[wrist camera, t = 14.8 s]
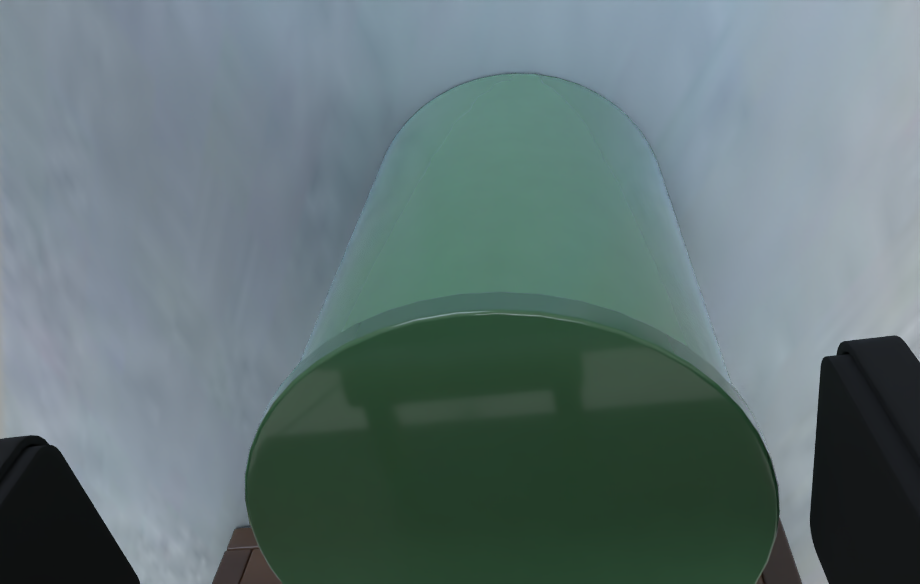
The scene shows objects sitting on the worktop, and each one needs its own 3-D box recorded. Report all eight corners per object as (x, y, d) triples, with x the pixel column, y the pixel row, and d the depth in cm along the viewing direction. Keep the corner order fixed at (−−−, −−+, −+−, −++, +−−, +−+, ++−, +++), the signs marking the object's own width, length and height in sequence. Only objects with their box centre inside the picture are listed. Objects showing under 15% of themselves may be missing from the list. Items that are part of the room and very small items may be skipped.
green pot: (334, 91, 15) (162, 345, 8) (664, 38, 14) (790, 276, 7) (404, 350, 19) (323, 692, 12) (678, 322, 18) (774, 678, 11)
